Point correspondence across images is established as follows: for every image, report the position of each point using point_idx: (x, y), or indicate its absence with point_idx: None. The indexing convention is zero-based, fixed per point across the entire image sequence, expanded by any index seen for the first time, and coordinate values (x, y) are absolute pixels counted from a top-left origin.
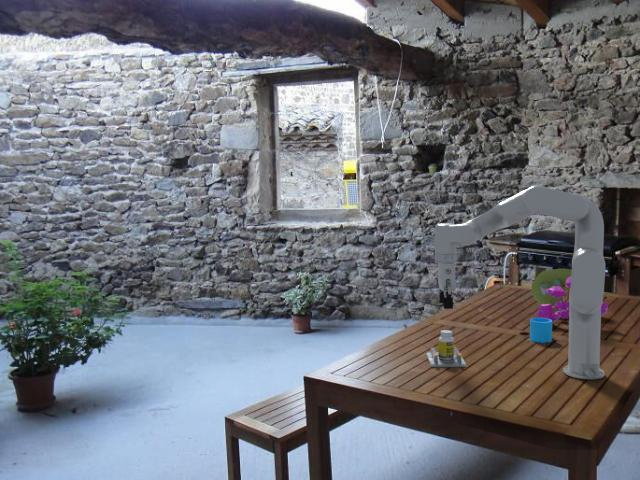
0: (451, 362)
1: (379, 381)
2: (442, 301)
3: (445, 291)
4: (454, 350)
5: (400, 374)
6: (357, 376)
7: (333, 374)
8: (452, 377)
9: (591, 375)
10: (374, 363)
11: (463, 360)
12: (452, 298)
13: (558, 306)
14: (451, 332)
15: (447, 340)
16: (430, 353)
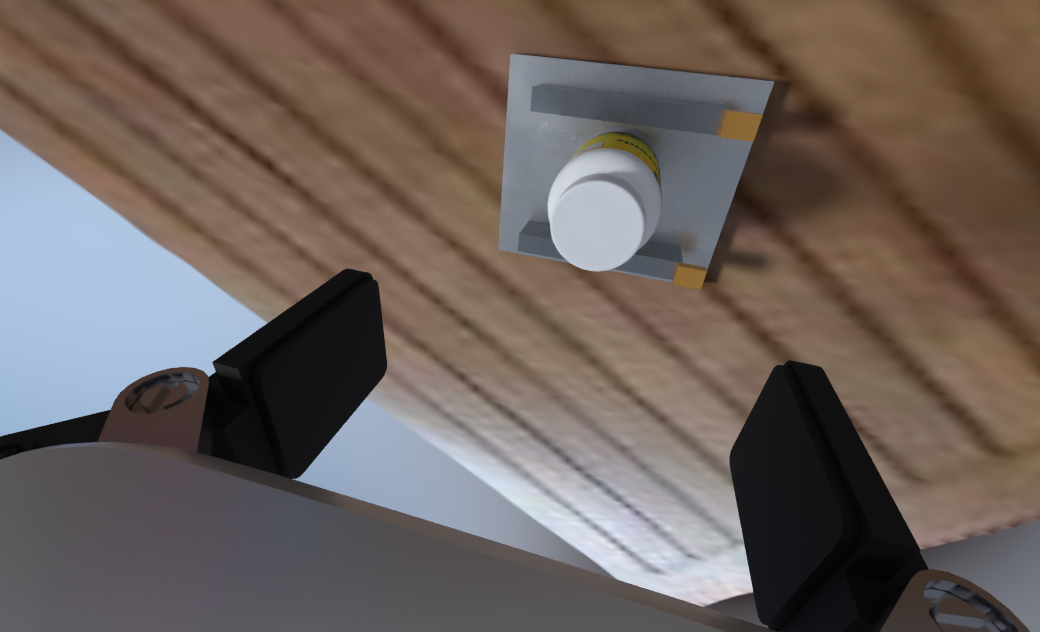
0: (706, 171)
1: None
2: (374, 356)
3: None
4: (586, 117)
5: None
6: (717, 536)
7: (671, 572)
8: (928, 232)
9: None
10: (585, 455)
11: (691, 76)
12: (902, 535)
13: None
14: (631, 193)
15: (657, 219)
16: (516, 235)
